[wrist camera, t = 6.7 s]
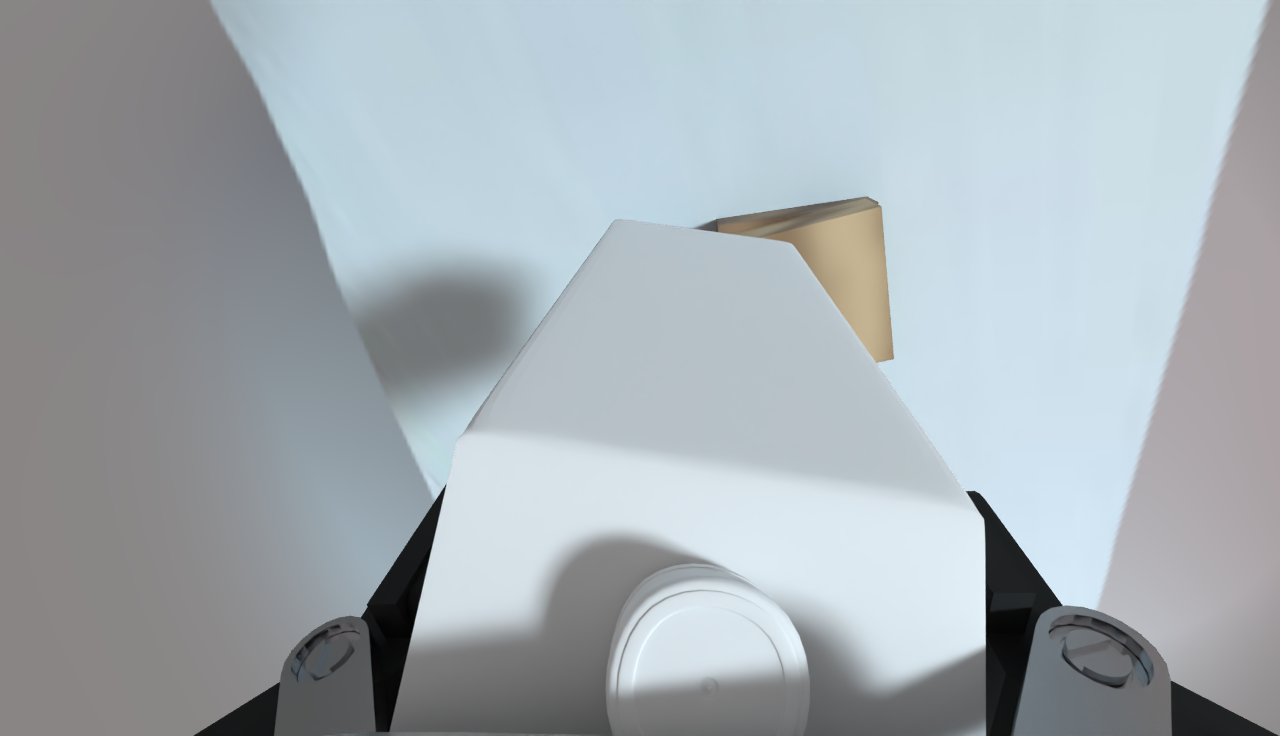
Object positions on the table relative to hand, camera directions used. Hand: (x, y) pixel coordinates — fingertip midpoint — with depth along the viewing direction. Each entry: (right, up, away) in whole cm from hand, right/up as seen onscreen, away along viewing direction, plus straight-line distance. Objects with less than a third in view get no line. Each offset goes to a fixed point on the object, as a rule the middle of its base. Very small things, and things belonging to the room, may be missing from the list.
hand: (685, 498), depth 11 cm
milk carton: (+1, +5, +10) cm, 12 cm away
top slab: (+10, +8, +23) cm, 27 cm away
